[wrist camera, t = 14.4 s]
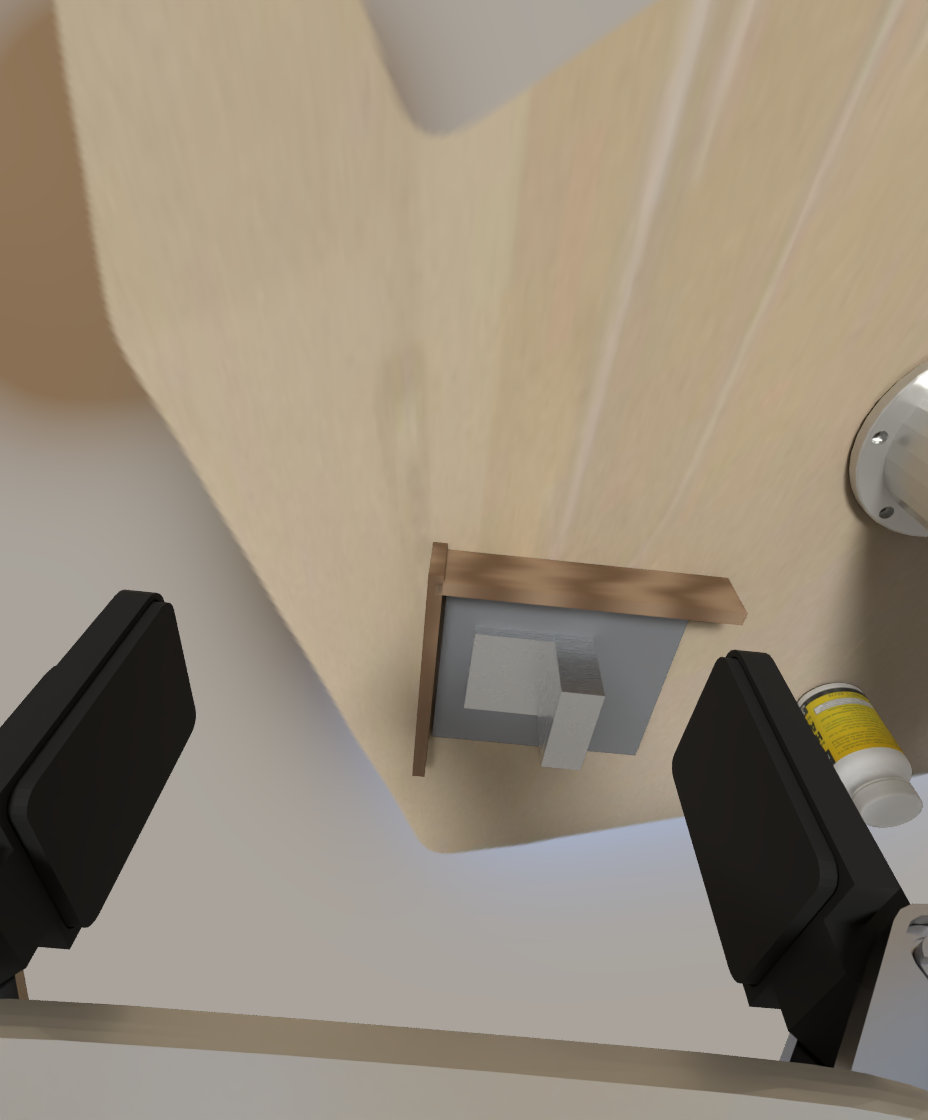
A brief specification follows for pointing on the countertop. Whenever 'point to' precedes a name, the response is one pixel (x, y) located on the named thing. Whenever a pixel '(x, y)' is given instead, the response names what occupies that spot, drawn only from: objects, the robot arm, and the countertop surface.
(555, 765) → the aluminium bracket
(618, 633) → the slate mat
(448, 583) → the walnut corner walls
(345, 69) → the countertop surface
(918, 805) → the supplement bottle
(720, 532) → the countertop surface
